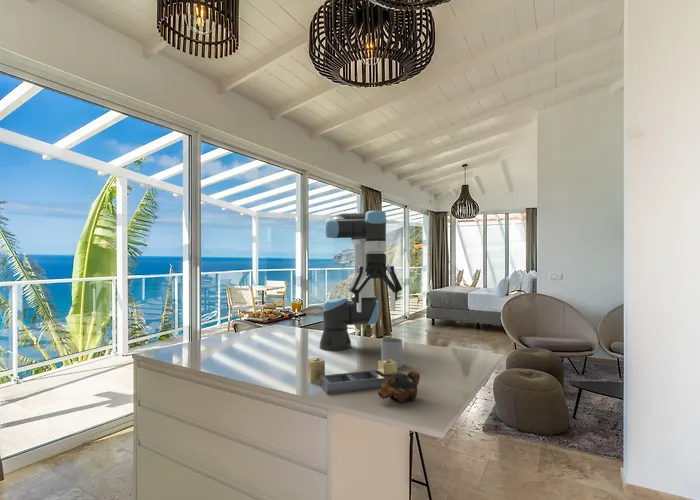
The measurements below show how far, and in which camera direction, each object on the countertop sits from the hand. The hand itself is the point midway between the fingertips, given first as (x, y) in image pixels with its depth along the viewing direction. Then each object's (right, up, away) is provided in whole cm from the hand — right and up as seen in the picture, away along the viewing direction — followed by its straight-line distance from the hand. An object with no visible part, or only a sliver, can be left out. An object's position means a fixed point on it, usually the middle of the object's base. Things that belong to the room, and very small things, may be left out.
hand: (376, 310), depth 145 cm
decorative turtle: (+6, -24, -24) cm, 34 cm away
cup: (+7, -24, +13) cm, 28 cm away
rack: (-5, -24, -10) cm, 26 cm away
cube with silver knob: (-22, -24, -4) cm, 32 cm away
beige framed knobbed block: (+3, -24, -7) cm, 25 cm away
